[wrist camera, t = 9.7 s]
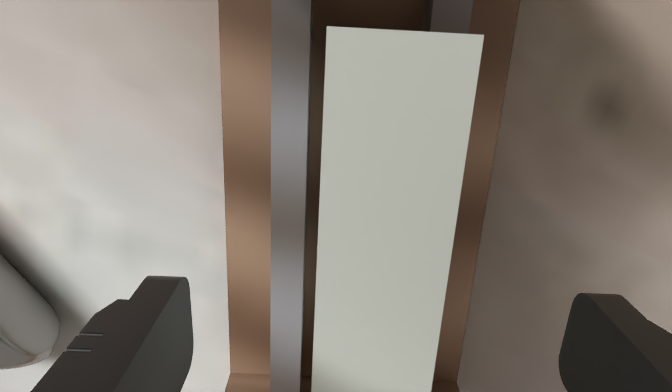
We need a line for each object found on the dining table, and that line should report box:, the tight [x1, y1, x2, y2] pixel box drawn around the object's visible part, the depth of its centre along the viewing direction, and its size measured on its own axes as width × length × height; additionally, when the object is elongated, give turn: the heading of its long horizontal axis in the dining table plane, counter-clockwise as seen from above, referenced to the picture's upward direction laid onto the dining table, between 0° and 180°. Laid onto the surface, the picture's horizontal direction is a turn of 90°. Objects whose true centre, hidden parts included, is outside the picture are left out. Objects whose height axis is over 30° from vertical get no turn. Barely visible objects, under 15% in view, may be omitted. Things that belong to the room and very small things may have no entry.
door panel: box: [311, 26, 484, 392], centre depth 14 cm, size 12×3×9 cm, turn 177°
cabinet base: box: [218, 0, 520, 392], centre depth 14 cm, size 20×10×11 cm, turn 177°
